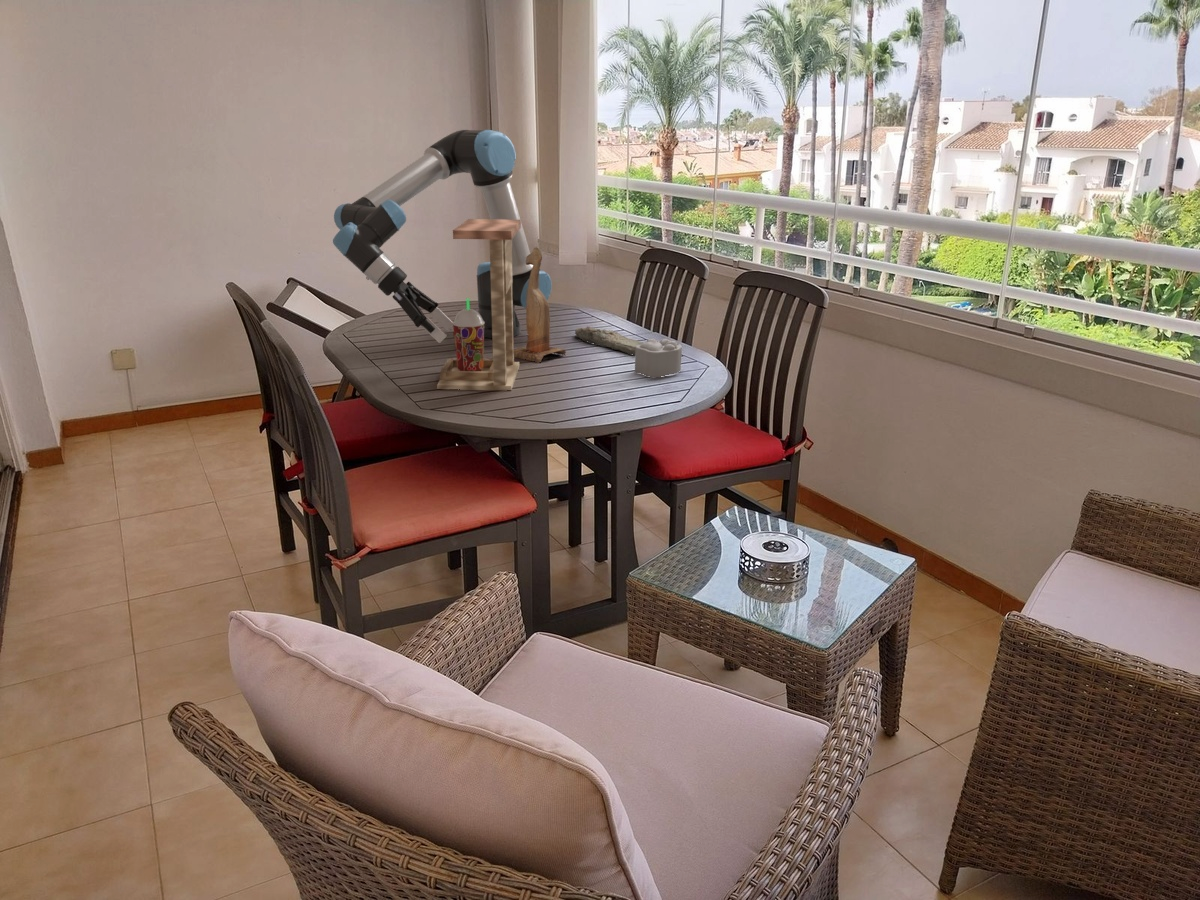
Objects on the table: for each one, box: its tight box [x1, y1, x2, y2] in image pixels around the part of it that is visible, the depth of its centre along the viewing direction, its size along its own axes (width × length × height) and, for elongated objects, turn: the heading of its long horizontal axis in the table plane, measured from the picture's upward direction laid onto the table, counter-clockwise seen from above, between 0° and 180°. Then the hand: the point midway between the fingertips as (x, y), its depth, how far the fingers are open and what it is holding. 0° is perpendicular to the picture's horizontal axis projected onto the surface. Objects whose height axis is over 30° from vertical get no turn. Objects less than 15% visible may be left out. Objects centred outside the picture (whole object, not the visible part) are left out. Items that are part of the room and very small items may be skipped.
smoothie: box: [452, 297, 485, 371], centre depth 229 cm, size 8×8×20 cm
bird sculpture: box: [514, 246, 567, 363], centre depth 249 cm, size 11×12×32 cm
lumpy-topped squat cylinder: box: [634, 338, 683, 377], centre depth 240 cm, size 10×13×9 cm
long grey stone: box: [574, 326, 644, 356], centre depth 268 cm, size 35×5×10 cm
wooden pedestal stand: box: [436, 218, 522, 391], centre depth 226 cm, size 20×26×40 cm
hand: (447, 333), depth 229 cm, fingers open, 13 cm apart
